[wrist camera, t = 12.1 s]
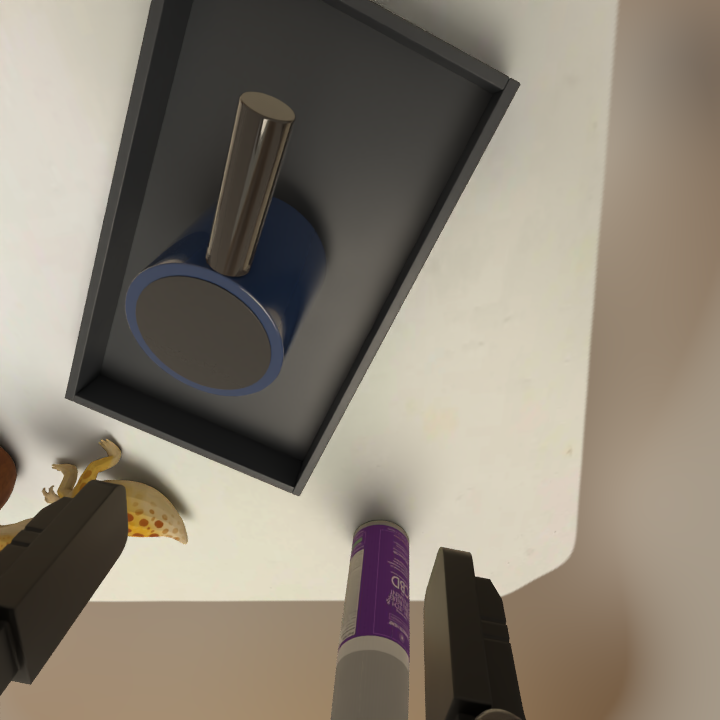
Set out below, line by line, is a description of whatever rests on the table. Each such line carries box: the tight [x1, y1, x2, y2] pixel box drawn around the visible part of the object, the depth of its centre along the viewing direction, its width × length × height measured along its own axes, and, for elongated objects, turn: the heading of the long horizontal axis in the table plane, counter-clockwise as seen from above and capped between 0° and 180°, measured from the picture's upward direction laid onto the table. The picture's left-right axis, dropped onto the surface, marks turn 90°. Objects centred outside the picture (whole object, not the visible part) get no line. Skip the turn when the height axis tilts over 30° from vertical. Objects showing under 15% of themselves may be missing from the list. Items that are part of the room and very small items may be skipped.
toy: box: [0, 439, 188, 551], centre depth 37 cm, size 7×15×10 cm, turn 60°
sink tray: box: [65, 0, 520, 496], centre depth 30 cm, size 17×28×4 cm, turn 155°
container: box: [331, 520, 410, 720], centre depth 34 cm, size 5×5×15 cm
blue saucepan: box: [125, 91, 327, 397], centre depth 24 cm, size 15×8×8 cm, turn 155°
